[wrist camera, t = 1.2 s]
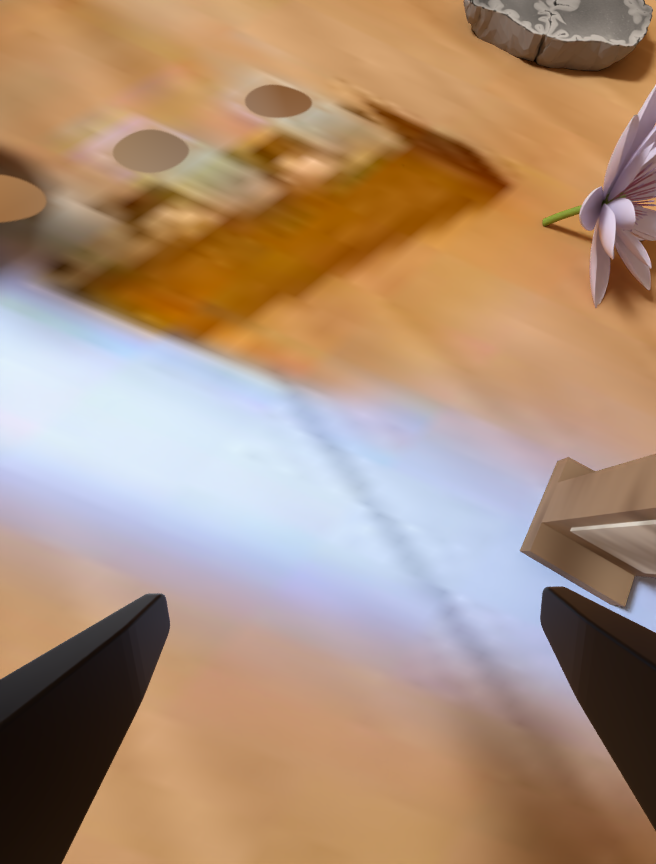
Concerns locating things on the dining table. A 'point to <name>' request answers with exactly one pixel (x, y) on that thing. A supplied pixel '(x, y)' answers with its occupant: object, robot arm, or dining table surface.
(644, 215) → the water lily
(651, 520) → the brown upright panelled block
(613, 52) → the brain slice
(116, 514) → the dining table surface
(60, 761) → the robot arm
